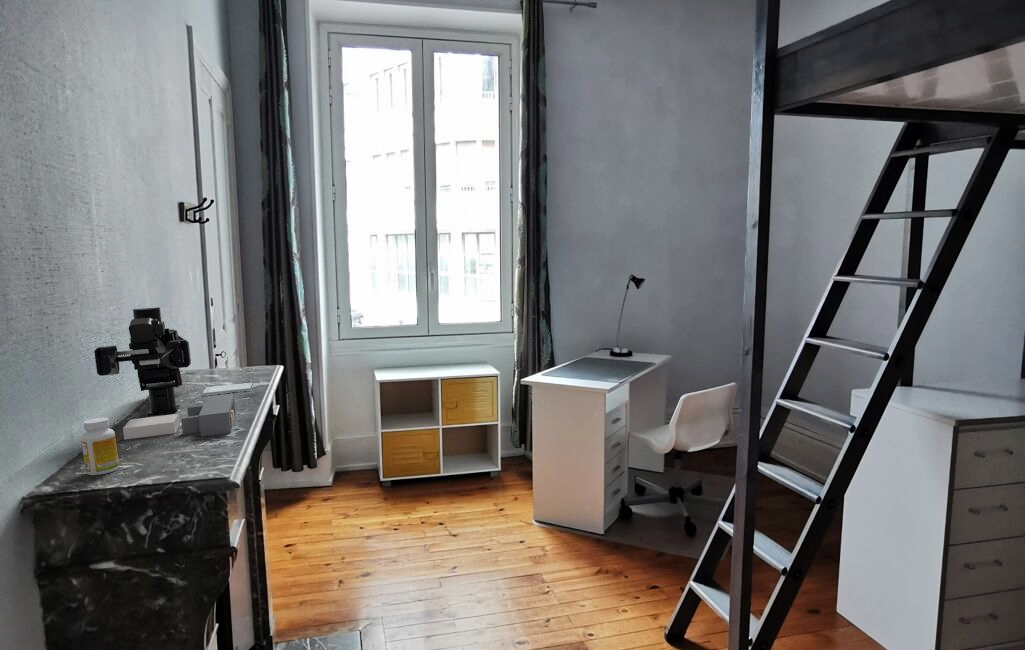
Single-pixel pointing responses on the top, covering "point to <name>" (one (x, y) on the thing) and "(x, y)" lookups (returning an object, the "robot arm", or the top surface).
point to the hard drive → (227, 389)
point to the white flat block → (151, 426)
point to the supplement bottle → (99, 447)
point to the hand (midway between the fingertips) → (136, 363)
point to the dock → (210, 416)
